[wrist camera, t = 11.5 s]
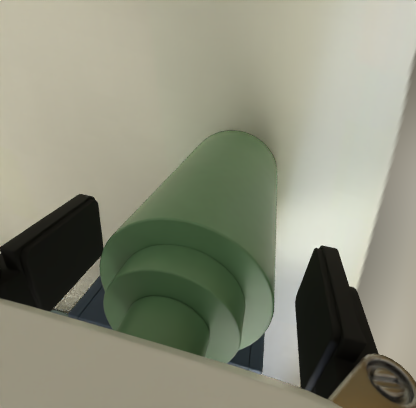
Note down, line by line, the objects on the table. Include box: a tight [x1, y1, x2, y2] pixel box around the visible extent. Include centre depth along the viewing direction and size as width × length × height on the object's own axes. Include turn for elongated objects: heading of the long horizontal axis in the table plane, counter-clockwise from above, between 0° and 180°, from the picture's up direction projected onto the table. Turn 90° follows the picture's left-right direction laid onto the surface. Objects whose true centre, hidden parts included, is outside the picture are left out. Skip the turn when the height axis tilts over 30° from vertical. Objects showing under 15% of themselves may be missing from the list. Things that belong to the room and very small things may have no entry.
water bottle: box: [100, 131, 277, 363], centre depth 12 cm, size 6×6×17 cm
